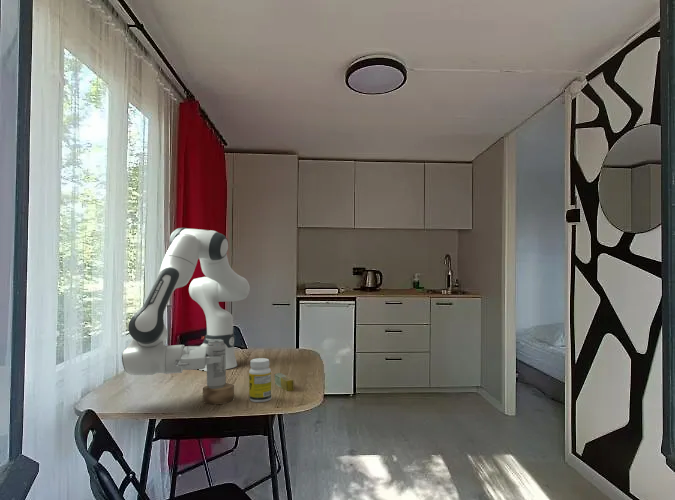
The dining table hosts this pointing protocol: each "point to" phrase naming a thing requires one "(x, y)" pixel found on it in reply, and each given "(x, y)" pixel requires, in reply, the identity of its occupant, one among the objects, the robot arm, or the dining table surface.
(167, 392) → the dining table surface
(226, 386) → the wooden bowl
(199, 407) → the dining table surface
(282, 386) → the medication box
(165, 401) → the dining table surface
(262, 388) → the supplement bottle
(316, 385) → the dining table surface
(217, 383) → the energy drink can
